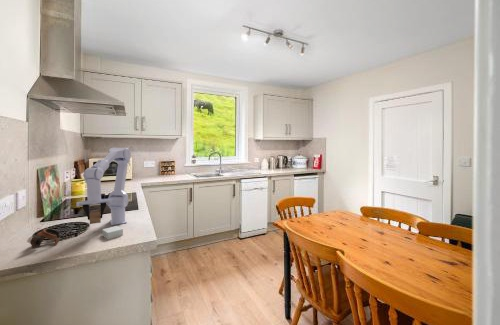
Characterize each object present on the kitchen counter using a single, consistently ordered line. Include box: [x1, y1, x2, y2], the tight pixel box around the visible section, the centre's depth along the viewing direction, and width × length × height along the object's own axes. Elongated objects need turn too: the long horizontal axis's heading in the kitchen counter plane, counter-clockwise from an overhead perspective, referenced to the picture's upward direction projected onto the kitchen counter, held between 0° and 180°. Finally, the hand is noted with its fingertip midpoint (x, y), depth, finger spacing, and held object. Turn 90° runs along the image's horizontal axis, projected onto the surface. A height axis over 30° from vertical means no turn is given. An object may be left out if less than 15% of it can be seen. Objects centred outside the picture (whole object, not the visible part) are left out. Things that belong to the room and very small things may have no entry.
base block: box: [101, 225, 124, 240], centre depth 120 cm, size 7×7×4 cm
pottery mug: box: [30, 228, 62, 249], centre depth 106 cm, size 12×10×8 cm
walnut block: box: [89, 209, 102, 225], centre depth 118 cm, size 4×4×6 cm
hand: (95, 218), depth 118 cm, fingers closed on walnut block, 4 cm apart
